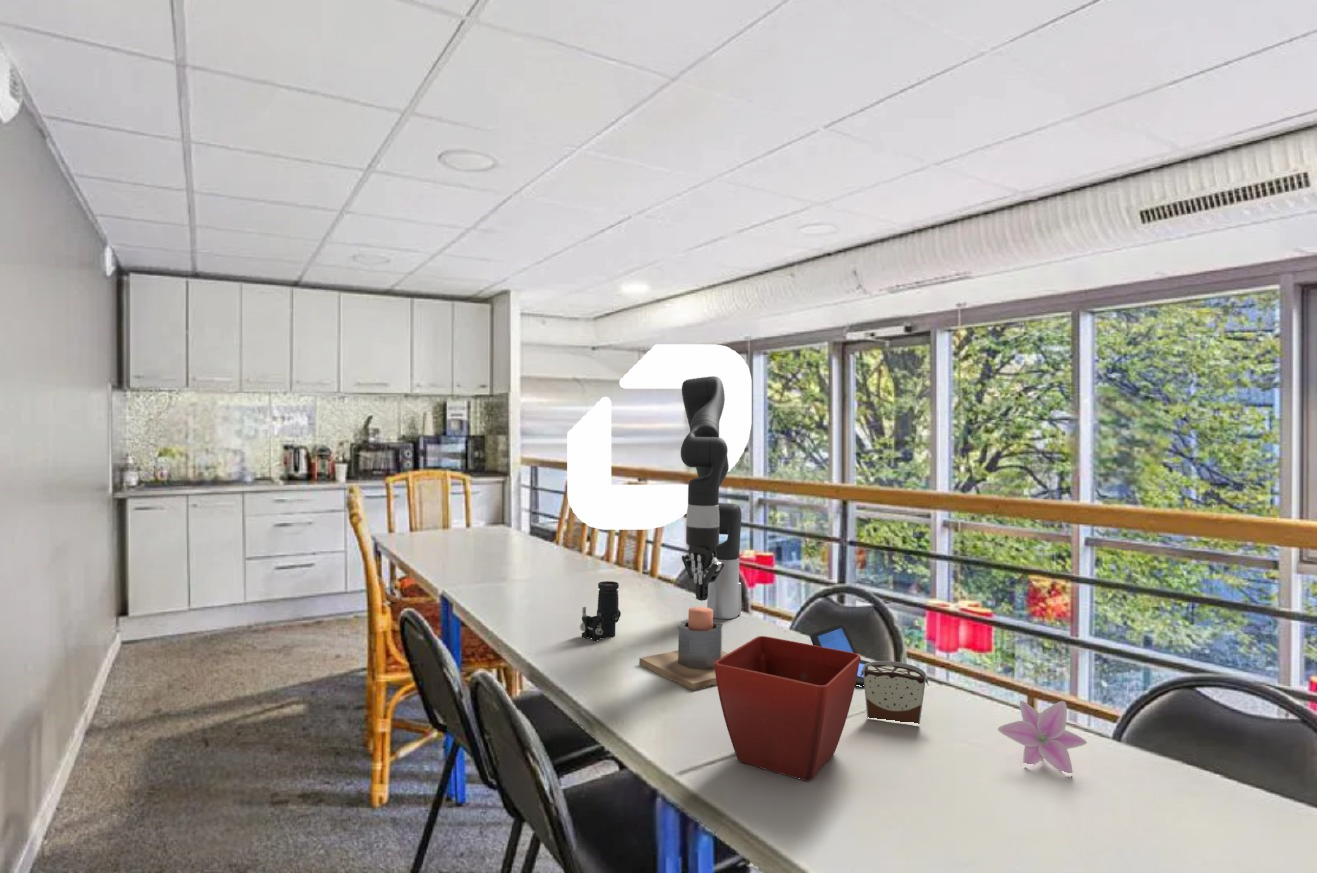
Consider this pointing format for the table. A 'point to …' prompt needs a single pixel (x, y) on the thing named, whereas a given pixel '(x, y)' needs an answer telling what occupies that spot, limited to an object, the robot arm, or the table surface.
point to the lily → (1044, 735)
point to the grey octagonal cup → (699, 646)
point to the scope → (602, 613)
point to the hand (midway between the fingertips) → (701, 599)
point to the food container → (894, 690)
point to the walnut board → (679, 670)
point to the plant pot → (786, 703)
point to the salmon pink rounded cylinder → (700, 618)
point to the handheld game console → (838, 644)
